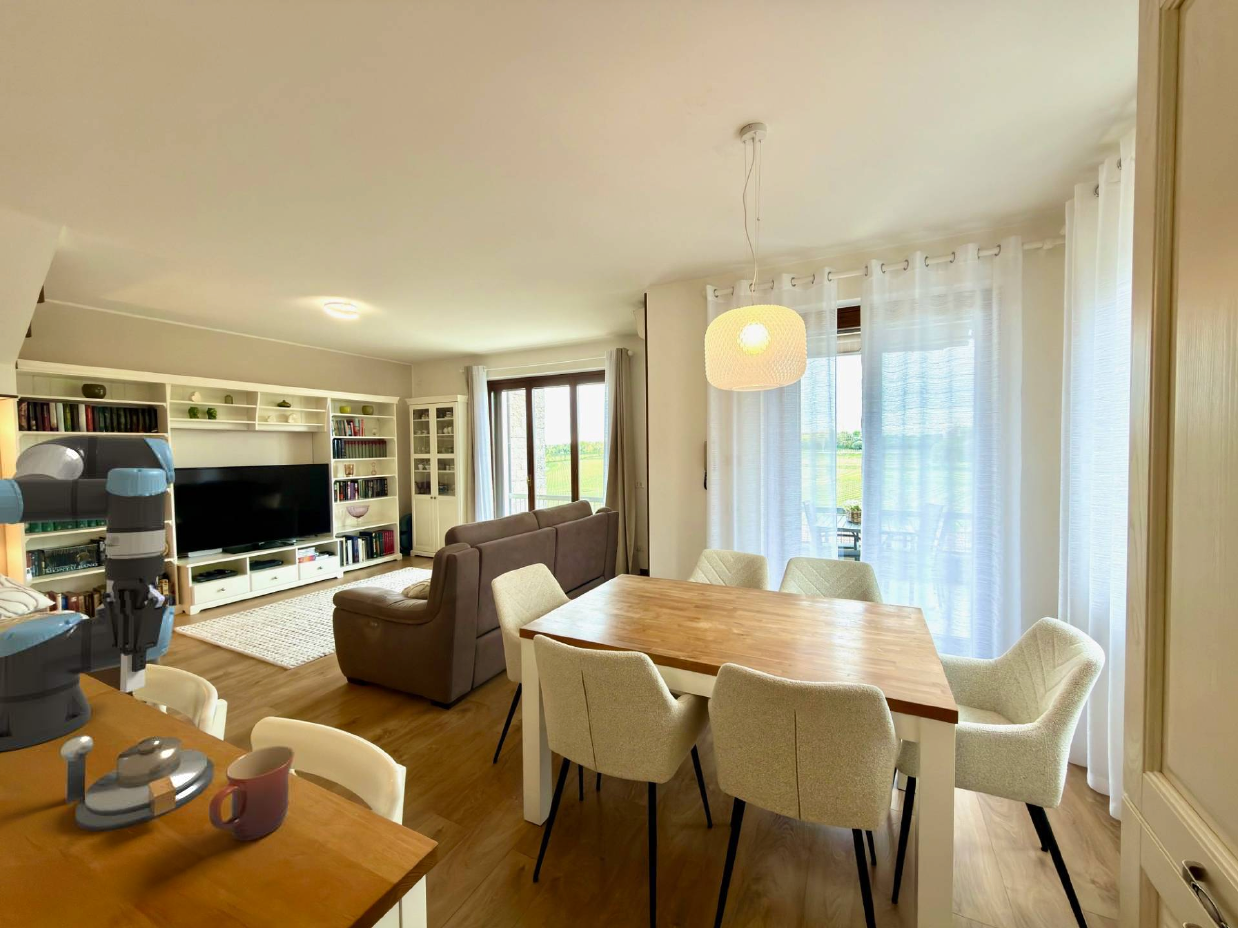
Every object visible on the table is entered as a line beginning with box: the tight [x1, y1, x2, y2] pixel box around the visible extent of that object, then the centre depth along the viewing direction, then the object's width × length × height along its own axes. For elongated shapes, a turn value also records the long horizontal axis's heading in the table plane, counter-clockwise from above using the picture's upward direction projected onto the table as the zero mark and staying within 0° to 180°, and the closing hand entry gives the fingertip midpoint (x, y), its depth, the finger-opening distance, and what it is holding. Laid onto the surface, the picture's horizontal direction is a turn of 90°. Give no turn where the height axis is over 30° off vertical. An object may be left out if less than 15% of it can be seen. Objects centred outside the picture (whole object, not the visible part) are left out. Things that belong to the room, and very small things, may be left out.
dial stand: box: [60, 734, 94, 805], centre depth 82 cm, size 3×4×11 cm
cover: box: [116, 735, 182, 788], centre depth 84 cm, size 8×8×6 cm
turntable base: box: [74, 757, 215, 832], centre depth 83 cm, size 17×17×2 cm
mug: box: [208, 745, 296, 841], centre depth 75 cm, size 12×9×10 cm
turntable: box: [85, 748, 208, 816], centre depth 82 cm, size 20×15×4 cm
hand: (132, 688), depth 85 cm, fingers closed
